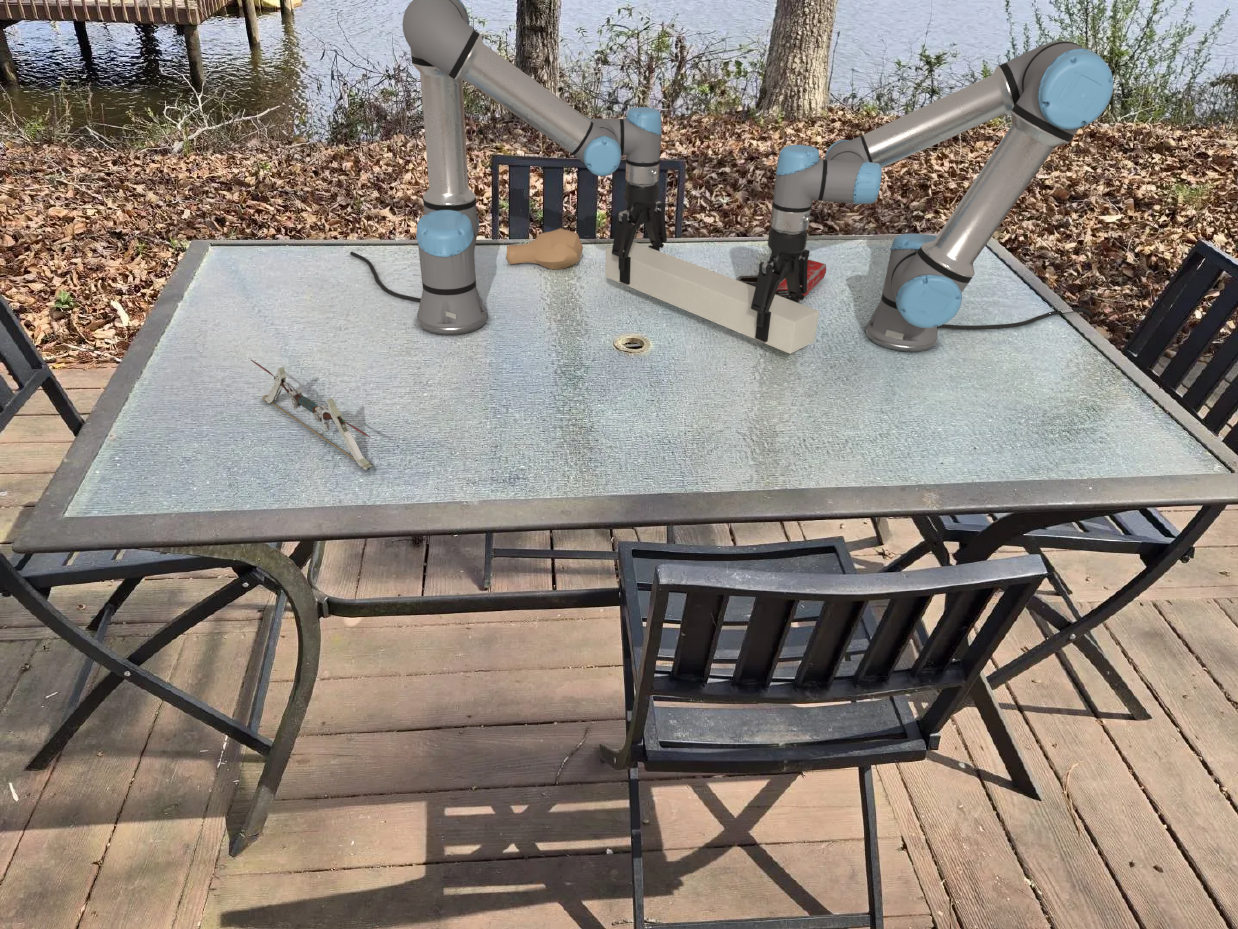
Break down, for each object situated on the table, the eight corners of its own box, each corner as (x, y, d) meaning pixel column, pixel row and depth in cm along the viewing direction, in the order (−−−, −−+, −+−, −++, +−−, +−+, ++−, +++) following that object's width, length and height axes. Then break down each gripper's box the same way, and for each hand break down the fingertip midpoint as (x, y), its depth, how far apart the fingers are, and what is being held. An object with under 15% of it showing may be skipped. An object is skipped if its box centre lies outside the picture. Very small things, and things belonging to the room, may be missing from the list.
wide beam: (605, 276, 211) (605, 248, 207) (630, 268, 216) (631, 240, 212) (790, 353, 179) (794, 322, 175) (814, 341, 184) (819, 310, 180)
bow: (382, 473, 146) (374, 421, 141) (372, 477, 145) (364, 425, 140) (264, 393, 168) (253, 345, 162) (255, 396, 167) (243, 348, 161)
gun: (708, 284, 207) (784, 305, 199) (760, 245, 229) (831, 262, 221) (706, 302, 209) (781, 323, 201) (758, 261, 231) (828, 278, 223)
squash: (584, 273, 223) (579, 241, 217) (507, 280, 225) (500, 249, 219) (585, 251, 231) (581, 220, 225) (511, 258, 233) (504, 227, 227)
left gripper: (619, 195, 188) (617, 294, 201) (686, 177, 201) (680, 271, 213) (595, 187, 192) (595, 284, 205) (662, 170, 205) (658, 262, 218)
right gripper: (770, 245, 164) (757, 354, 177) (835, 221, 177) (818, 324, 189) (739, 235, 169) (728, 342, 181) (805, 212, 181) (790, 314, 194)
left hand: (638, 277), depth 209 cm, fingers closed on wide beam, 9 cm apart
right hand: (774, 333), depth 185 cm, fingers closed on wide beam, 9 cm apart
